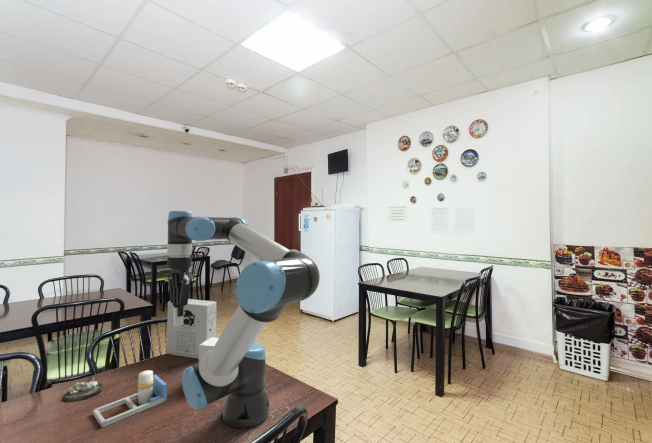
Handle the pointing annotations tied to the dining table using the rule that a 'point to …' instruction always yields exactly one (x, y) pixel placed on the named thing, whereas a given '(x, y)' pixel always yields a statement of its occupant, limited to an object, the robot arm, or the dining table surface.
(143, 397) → the white cylinder
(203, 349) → the supplement box
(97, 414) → the grey slotted tray
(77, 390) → the grey lumpy oval piece
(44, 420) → the dining table surface
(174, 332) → the cereal box
